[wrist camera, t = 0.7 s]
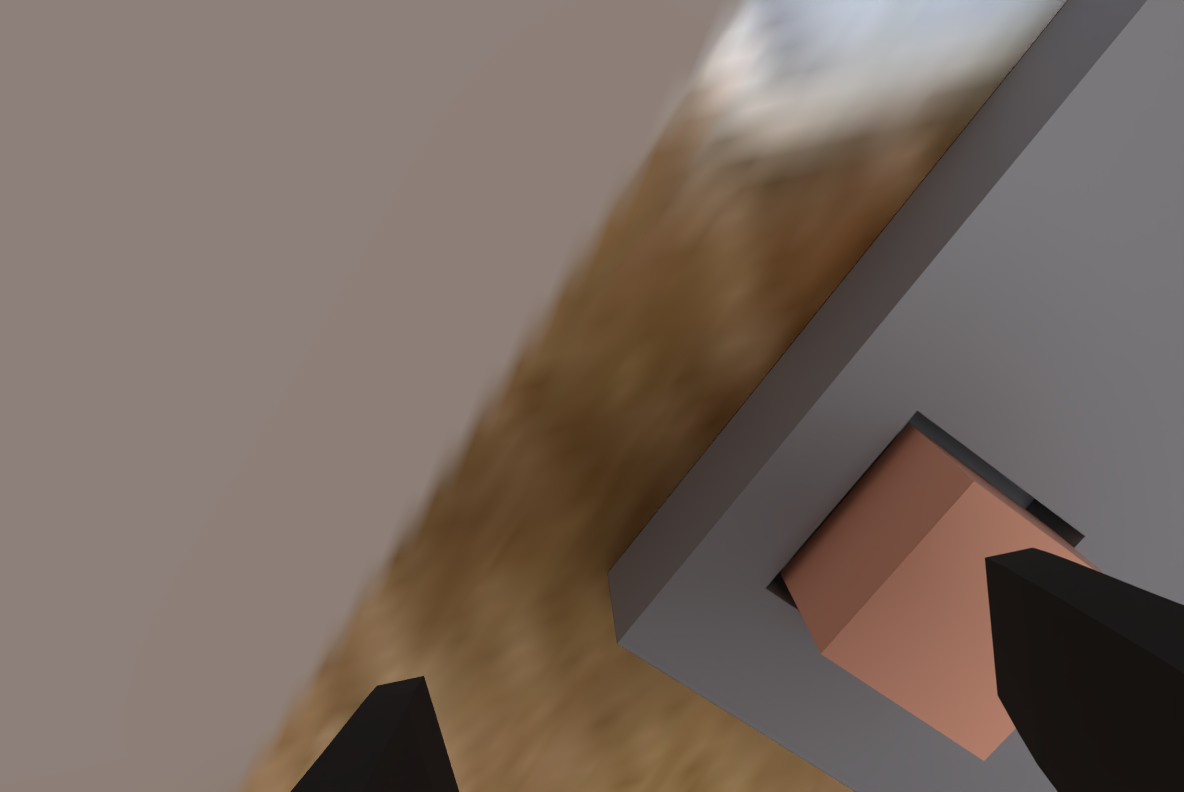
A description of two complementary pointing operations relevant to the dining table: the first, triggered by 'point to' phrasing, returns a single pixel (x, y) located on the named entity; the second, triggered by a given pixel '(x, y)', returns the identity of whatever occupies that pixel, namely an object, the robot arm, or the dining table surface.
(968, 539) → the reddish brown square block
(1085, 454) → the key panel
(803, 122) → the dining table surface
